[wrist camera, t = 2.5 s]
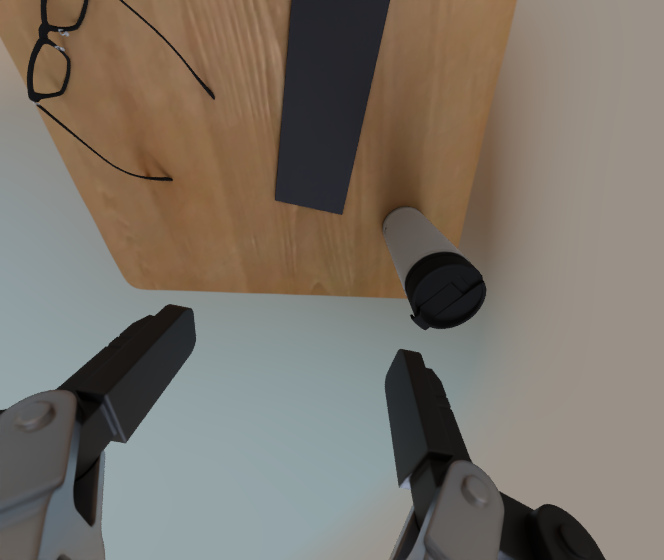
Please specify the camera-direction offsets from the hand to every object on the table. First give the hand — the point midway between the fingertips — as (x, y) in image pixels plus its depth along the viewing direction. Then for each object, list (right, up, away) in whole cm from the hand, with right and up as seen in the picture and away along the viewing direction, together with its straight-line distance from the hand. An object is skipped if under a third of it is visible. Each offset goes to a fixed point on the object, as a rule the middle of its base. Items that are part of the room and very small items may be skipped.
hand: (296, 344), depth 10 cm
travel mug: (+12, +11, +28) cm, 32 cm away
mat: (0, +24, +21) cm, 32 cm away
